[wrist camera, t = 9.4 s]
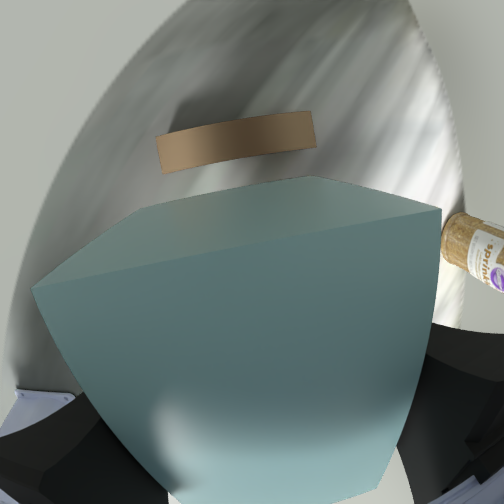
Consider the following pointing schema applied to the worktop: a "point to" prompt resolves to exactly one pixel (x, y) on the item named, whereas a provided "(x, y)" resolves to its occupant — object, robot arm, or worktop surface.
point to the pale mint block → (254, 336)
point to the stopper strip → (235, 140)
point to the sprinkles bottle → (475, 248)
